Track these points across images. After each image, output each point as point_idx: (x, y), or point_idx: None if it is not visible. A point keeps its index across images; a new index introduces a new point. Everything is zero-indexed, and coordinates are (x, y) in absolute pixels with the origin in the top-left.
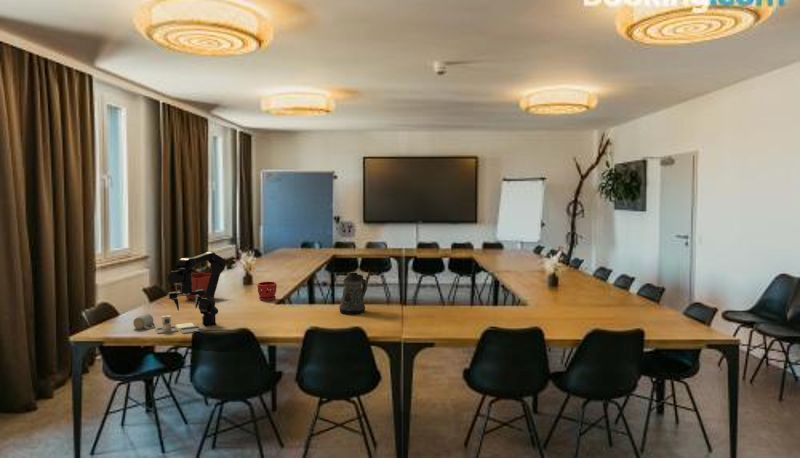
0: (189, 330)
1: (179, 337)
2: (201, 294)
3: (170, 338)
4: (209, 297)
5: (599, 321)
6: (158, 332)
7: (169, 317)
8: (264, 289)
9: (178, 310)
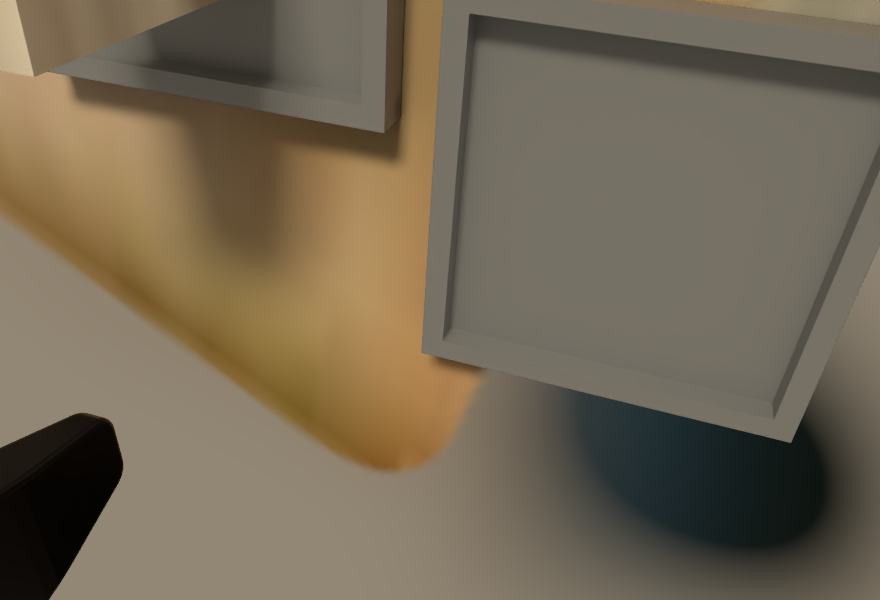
0: (608, 200)
1: (358, 416)
2: None
3: (242, 378)
4: None
5: None
6: None
7: (15, 64)
8: None
9: (115, 469)
